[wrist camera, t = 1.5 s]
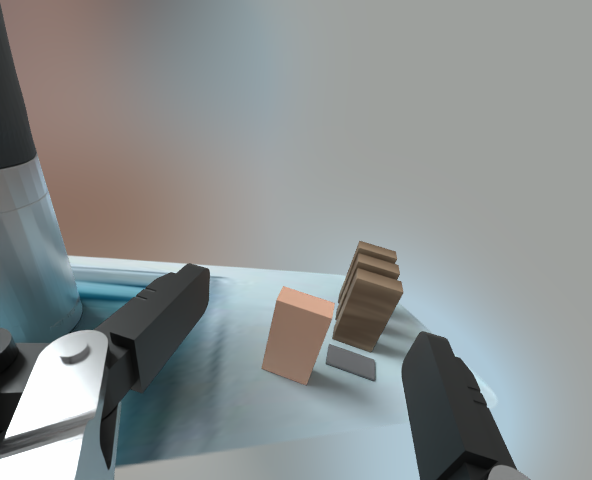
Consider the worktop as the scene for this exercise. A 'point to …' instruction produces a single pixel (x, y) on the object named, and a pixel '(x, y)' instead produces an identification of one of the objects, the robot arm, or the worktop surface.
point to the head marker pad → (351, 362)
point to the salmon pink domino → (296, 334)
